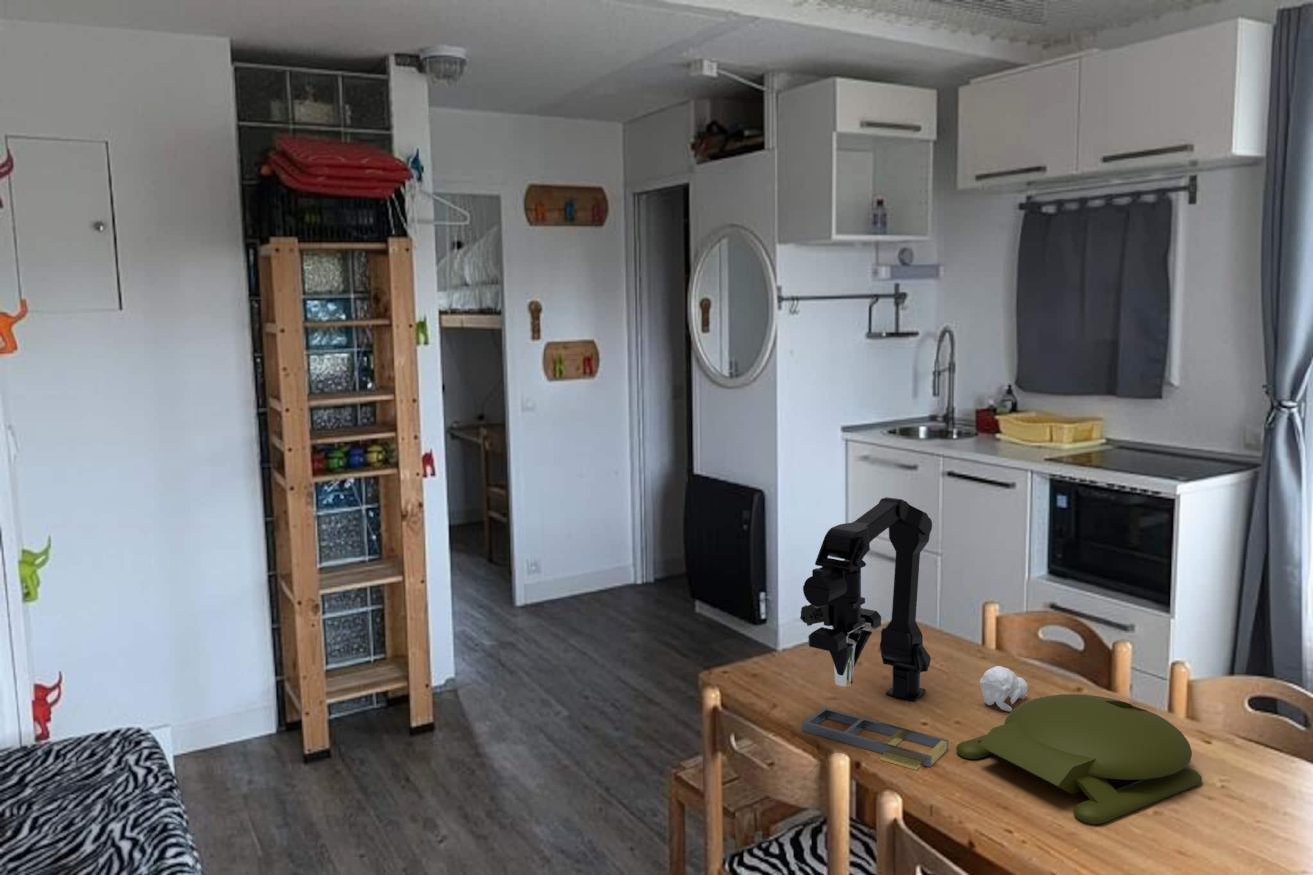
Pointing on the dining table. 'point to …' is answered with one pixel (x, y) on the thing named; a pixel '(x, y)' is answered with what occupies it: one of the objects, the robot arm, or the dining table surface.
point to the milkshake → (847, 669)
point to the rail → (887, 748)
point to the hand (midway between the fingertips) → (845, 671)
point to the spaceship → (1093, 751)
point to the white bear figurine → (1002, 687)
